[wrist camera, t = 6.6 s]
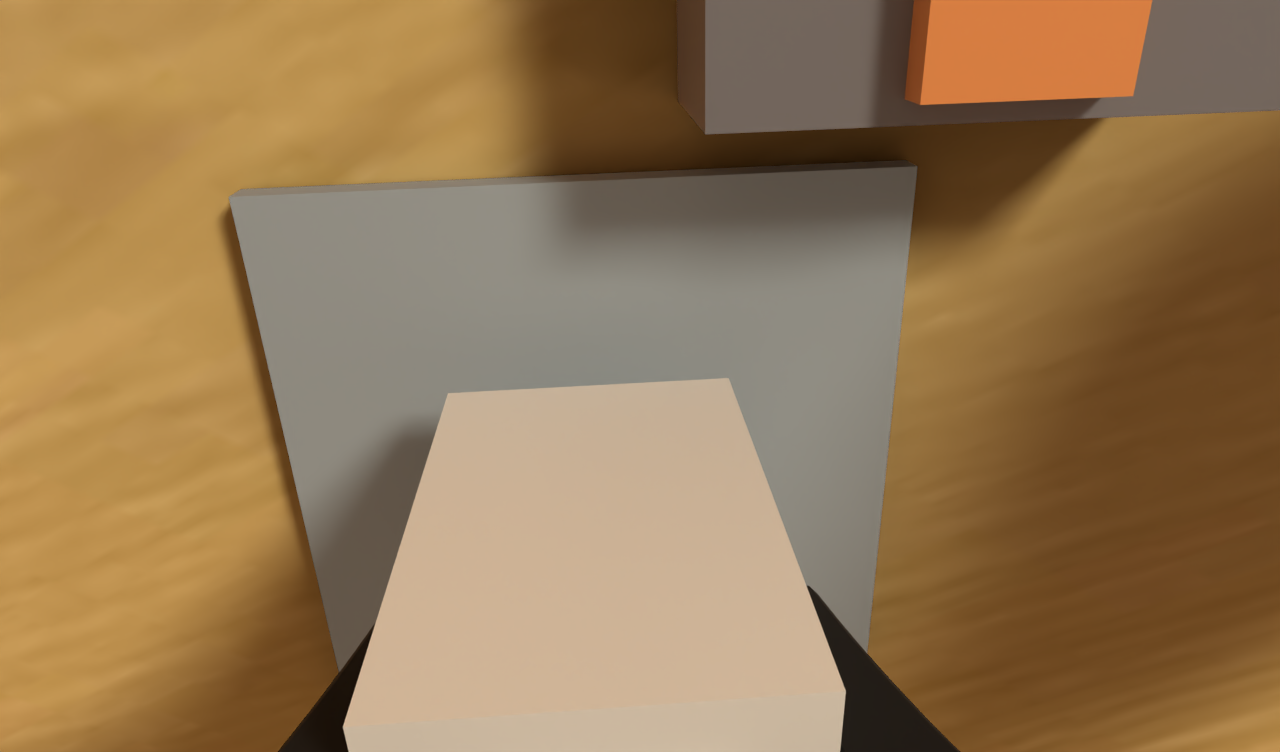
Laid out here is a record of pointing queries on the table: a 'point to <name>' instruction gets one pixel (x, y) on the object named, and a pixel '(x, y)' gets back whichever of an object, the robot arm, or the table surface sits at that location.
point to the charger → (596, 586)
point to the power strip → (858, 62)
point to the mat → (583, 335)
